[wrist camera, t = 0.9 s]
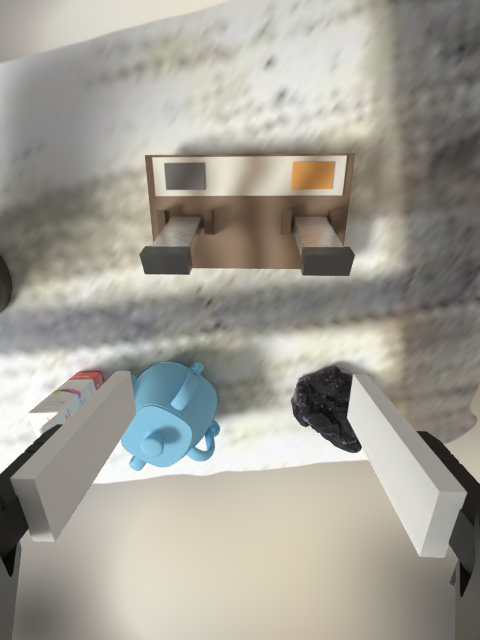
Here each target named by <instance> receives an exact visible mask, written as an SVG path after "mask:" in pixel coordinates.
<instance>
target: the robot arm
mask: <svg viewBox="0 0 480 640" xmlns="http://www.w3.org/2000/svg"><path fill="white" fill-rule="evenodd" d="M10 295H11V279H10V275H9V272H8V269H7V267H6V265H5V263H4V261H3V259H2V258H1V256H0V312H1V311H2V310H3V309H4V308H5V306H6V305H7V303H8V301H9V299H10ZM136 414H137V413H136V406H135V400H134V393H133V387H132V380H131V374H130V371H115V372H114V373H113V374H112V375H111V376H110V377H109V378H108V380H107V381H106V382H105V383H104V384H103V385H102V386H101V387H100V388H99V389H98V390H97V391H96V392H95V393H94V394H93V395H92V396H91V397H90V398H89V399H88V400H87V401H86V402H85V403H84V404H83V405H82V406H81V407H80V408H79V409H78V410H77V411H76V412H75V413H74V414H73V415H72V416H71V417H70V418H69V419H68V420H67V421H66V422H65V423H64V424H57V425H55V426H54V427H52V428H50V429H49V430H47V431H46V432H44V433H43V434H42V435H41V436H40V437H39V438H38V439H37V440H36V441H34V442H33V445H30V446H29V447H28V448H27V449H26V450H25V452H24V453H22V454H21V455H20V456H19V457H18V458H17V459H16V460H15V461H14V462H13V463H12V464H10V465H9V466H8V467H7V468H6V469H5V470H4V471H3V472H2V473H1V474H0V640H11V639H12V630H13V621H14V612H15V603H16V602H15V601H16V593H17V584H18V576H19V566H20V557H21V544H20V541H19V540H20V539H21V538H22V536H23V535H24V534H25V532H26V531H27V530H28V529H29V532H30V535H31V537H32V540H33V541H43V542H44V541H45V542H55V541H56V539H57V538H58V536H59V535H60V533H61V531H62V530H63V528H64V527H65V525H66V524H67V522H68V520H69V519H70V517H71V516H72V514H73V513H74V511H75V510H76V508H77V506H78V505H79V503H80V502H81V500H82V499H83V497H84V495H85V494H86V492H87V491H88V489H89V487H90V486H91V484H92V483H93V481H94V480H95V478H96V477H97V475H98V473H99V472H100V470H101V469H102V467H103V466H104V464H105V462H106V461H107V459H108V458H109V456H110V455H111V453H112V451H113V450H114V448H115V447H116V445H117V444H118V442H119V440H120V439H121V437H122V436H123V434H124V433H125V431H126V430H127V428H128V426H129V425H130V423H131V422H132V420H133V419H134V417H135V415H136ZM347 419H348V421H349V423H350V424H351V426H352V428H353V430H354V432H355V434H356V436H357V438H358V440H359V442H360V444H361V445H362V447H363V449H364V451H365V453H366V455H367V457H368V459H369V461H370V463H371V465H372V467H373V468H374V470H375V472H376V474H377V476H378V478H379V480H380V482H381V484H382V486H383V488H384V489H385V491H386V493H387V495H388V497H389V499H390V501H391V503H392V505H393V507H394V509H395V511H396V512H397V514H398V516H399V518H400V520H401V522H402V524H403V525H404V528H405V529H406V532H407V533H408V535H409V537H410V539H411V541H412V543H413V545H414V547H415V549H416V551H417V552H418V555H419V556H420V557H440V558H444V557H445V555H446V552H447V549H448V546H449V545H450V546H451V548H452V549H453V551H454V553H455V554H456V556H457V557H458V562H457V564H456V567H455V570H454V572H453V575H452V578H451V581H450V584H452V585H455V583H456V611H455V613H456V614H455V615H456V617H455V640H480V484H479V483H478V482H477V481H476V480H475V478H474V477H473V476H472V475H470V473H469V472H468V471H467V470H466V469H465V468H464V466H463V465H462V464H459V461H458V460H457V459H456V458H455V457H454V455H453V454H451V453H450V451H449V450H448V449H447V448H446V447H445V446H444V445H443V443H442V442H441V441H439V440H438V439H437V438H435V437H434V436H432V435H431V434H429V433H428V432H425V431H415V429H414V428H413V427H412V426H411V425H410V423H409V422H408V421H407V420H406V419H405V417H404V416H403V415H402V414H401V413H400V411H399V410H398V409H397V408H396V407H395V406H394V404H393V403H392V402H391V401H390V400H389V398H388V397H387V396H386V395H385V394H384V392H383V391H382V390H381V389H380V388H379V386H378V385H377V384H376V383H375V382H374V380H373V379H372V378H371V377H370V376H369V374H353V380H352V387H351V394H350V401H349V408H348V415H347Z"/></svg>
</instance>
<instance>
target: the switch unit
mask: <svg viewBox="0 0 480 640" xmlns="http://www.w3.org/2000/svg"><path fill="white" fill-rule="evenodd" d="M354 155H355V153H339V154H235V155H145V161H146V171H147V182H148V192H149V203H150V213H151V223H152V234H153V242H154V241H155V240H156V238H157V237H158V235H159V234H160V232H161V231H162V229H163V228H164V227H165V225H166V224H167V222H168V221H169V219H170V218H171V217H202V226H203V230H202V232H201V235H200V237H199V240H198V243H197V245H196V248H195V250H194V253H193V256H192V265H193V266H192V268H247V269H301V268H300V263H301V255H300V252H299V248H298V245H297V242H296V238H295V235H294V232H293V222H294V217H326V218H327V220H328V222H329V223H330V225H331V227H332V228H333V230H334V231H335V233H336V235H337V236H338V238H339V240H340V241H341V243H342V245H343V246H344V238H345V230H346V222H347V213H348V205H349V197H350V188H351V180H352V171H353V163H354Z"/></svg>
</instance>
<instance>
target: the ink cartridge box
mask: <svg viewBox="0 0 480 640" xmlns="http://www.w3.org/2000/svg"><path fill="white" fill-rule="evenodd" d="M103 384H104V381H103V377H102V373H101V372H78V373H76V374H75V375H74V376H73V377H72V378H70V379H69V380H68V381H67V382H65V383H64V384H63V385H62V386H60V387H59V388H58V389H57V390H56V391H54V392H53V393H52V394H51V395H49V396H48V397H47V398H46V399H44V400H43V401H42V402H41V403H40V404H38V405H37V406H36V407H35V408H34V409H32V410H31V411H30V412H29V413H28V415H29V418H30V420H31V423H32V426H33V429H34V431H35V434H36V437H37V439H38V438H39V437H40V436H41V435H42V434H43V433H44V432H46V431H47V430H49V429H50V428H52V427H54V426H55V425H57V424H64V423H65V422H66V421H67V420H68V419H69V418H70V417H71V416H72V415H73V414H74V413H75V412H76V411H77V410H78V409H79V408H80V407H81V406H82V405H83V404H84V403H85V402H86V401H87V400H88V399H89V398H90V397H91V396H92V395H93V394H94V393H95V392H96V391H97V390H98V389H99V388H100V387H101V386H102V385H103Z"/></svg>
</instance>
